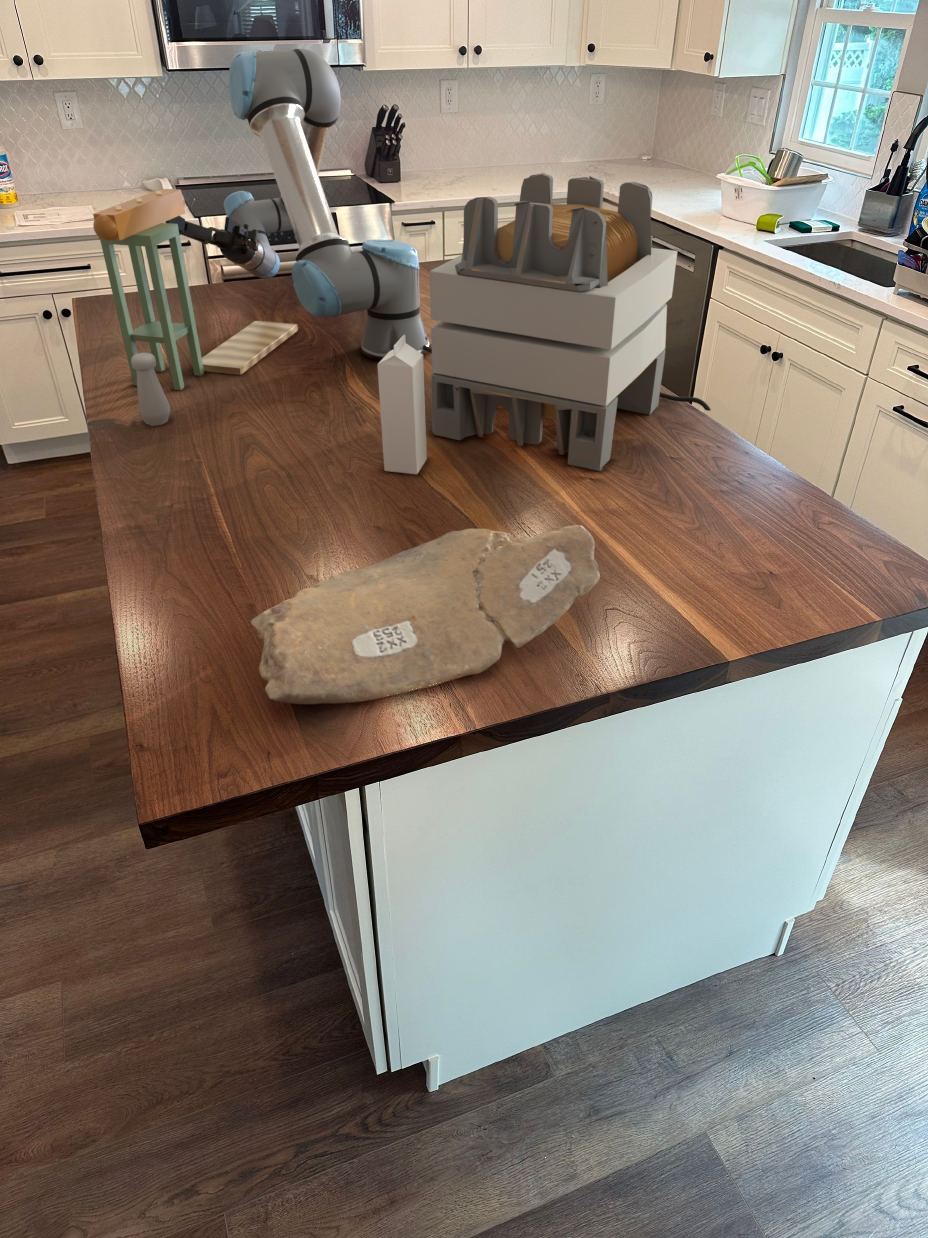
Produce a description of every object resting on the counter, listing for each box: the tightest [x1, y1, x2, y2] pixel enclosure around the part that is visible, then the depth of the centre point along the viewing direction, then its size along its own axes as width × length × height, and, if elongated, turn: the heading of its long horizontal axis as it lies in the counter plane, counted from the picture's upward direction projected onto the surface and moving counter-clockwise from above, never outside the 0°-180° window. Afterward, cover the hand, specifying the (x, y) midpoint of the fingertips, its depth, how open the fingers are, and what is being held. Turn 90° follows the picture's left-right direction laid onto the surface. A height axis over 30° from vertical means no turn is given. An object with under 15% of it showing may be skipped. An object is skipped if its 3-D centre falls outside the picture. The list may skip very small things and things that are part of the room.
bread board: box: [201, 320, 299, 376], centre depth 204 cm, size 30×11×2 cm, turn 165°
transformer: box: [429, 172, 678, 472], centre depth 159 cm, size 34×33×41 cm
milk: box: [377, 335, 428, 475], centre depth 150 cm, size 6×6×22 cm
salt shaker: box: [131, 352, 171, 427], centre depth 168 cm, size 6×6×13 cm
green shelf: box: [99, 222, 205, 391], centre depth 181 cm, size 10×11×30 cm
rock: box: [250, 524, 601, 705], centre depth 115 cm, size 45×11×26 cm
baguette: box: [92, 188, 186, 241], centre depth 172 cm, size 28×4×5 cm, turn 165°
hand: (196, 219), depth 190 cm, fingers open, 13 cm apart
